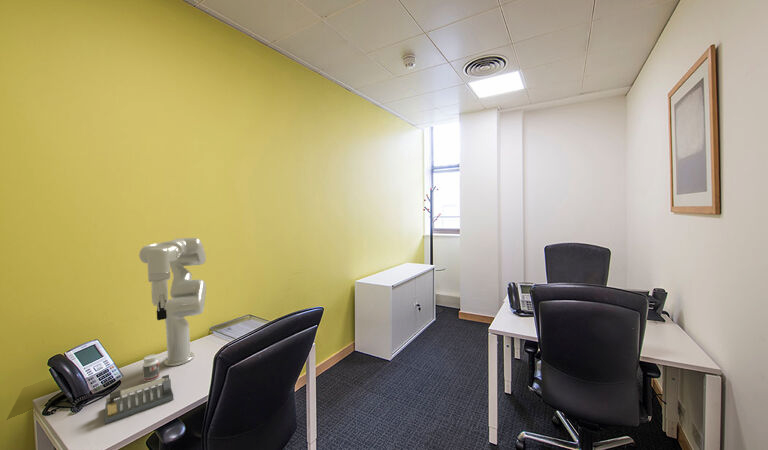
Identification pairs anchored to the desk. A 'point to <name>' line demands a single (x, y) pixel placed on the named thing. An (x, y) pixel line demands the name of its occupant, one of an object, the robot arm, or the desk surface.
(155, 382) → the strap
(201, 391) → the desk surface
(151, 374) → the pill bottle
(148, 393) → the grey slotted rack
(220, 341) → the desk surface
